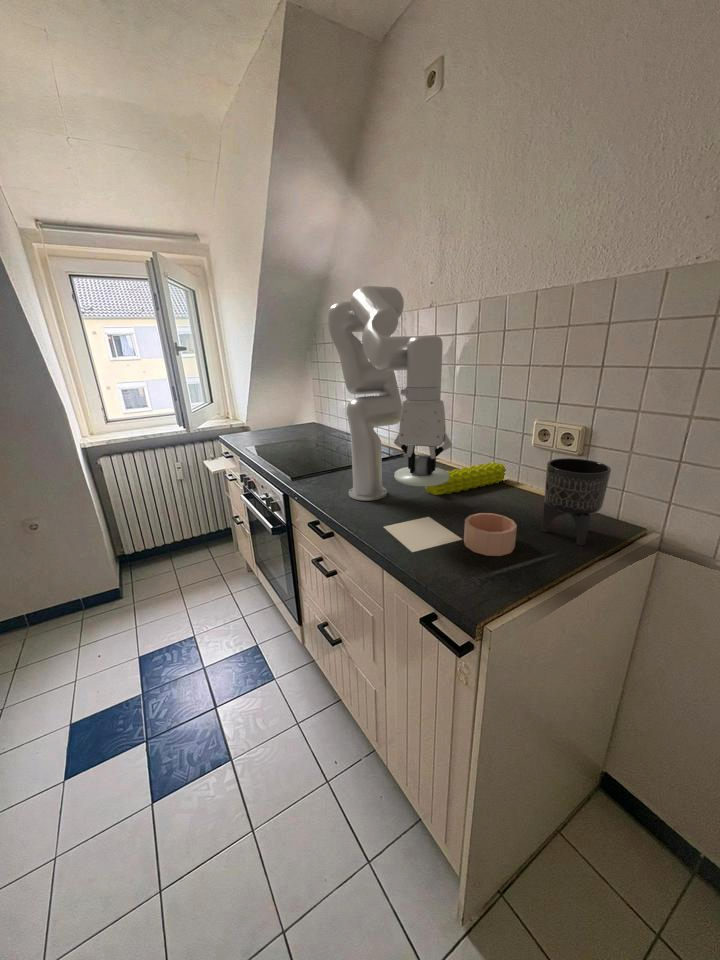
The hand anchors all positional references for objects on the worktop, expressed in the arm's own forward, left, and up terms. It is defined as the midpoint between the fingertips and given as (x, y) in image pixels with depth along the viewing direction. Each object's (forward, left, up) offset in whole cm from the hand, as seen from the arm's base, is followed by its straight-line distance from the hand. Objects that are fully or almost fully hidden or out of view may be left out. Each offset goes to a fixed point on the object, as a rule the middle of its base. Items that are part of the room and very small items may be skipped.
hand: (421, 471), depth 90 cm
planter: (+16, +32, -17) cm, 40 cm away
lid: (0, 0, -1) cm, 1 cm away
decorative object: (-23, +33, -17) cm, 43 cm away
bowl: (+12, +11, -17) cm, 23 cm away
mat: (0, 0, -17) cm, 17 cm away
